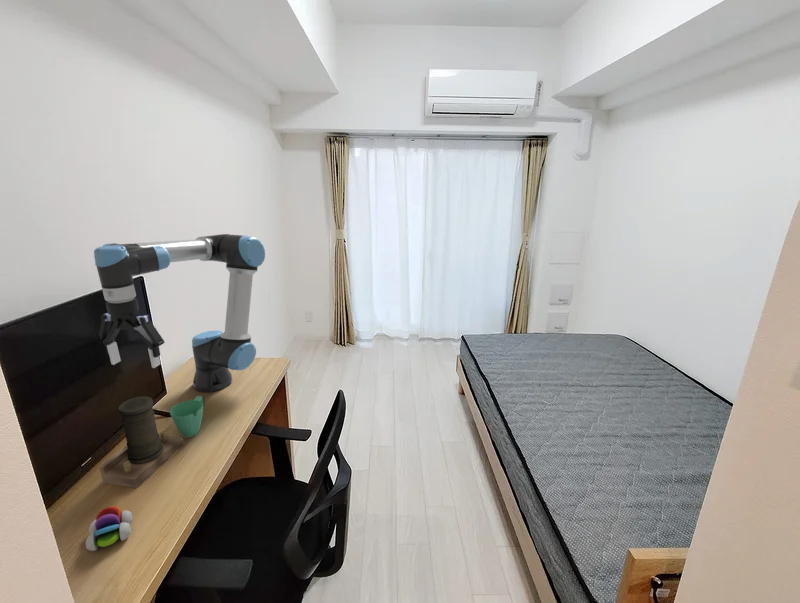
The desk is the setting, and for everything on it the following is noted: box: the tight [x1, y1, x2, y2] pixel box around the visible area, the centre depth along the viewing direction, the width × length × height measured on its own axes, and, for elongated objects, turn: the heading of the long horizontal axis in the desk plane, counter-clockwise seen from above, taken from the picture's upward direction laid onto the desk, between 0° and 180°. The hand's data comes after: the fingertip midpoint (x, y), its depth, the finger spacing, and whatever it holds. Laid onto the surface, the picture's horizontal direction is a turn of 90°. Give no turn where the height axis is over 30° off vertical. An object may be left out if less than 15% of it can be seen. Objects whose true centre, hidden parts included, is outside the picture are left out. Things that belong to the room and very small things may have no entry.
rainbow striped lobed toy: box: [85, 505, 133, 552], centre depth 92 cm, size 8×10×7 cm
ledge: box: [99, 430, 184, 489], centre depth 117 cm, size 19×11×6 cm, turn 171°
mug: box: [169, 395, 205, 438], centre depth 133 cm, size 15×10×10 cm
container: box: [118, 396, 163, 464], centre depth 114 cm, size 9×9×18 cm
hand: (136, 364), depth 117 cm, fingers open, 13 cm apart
